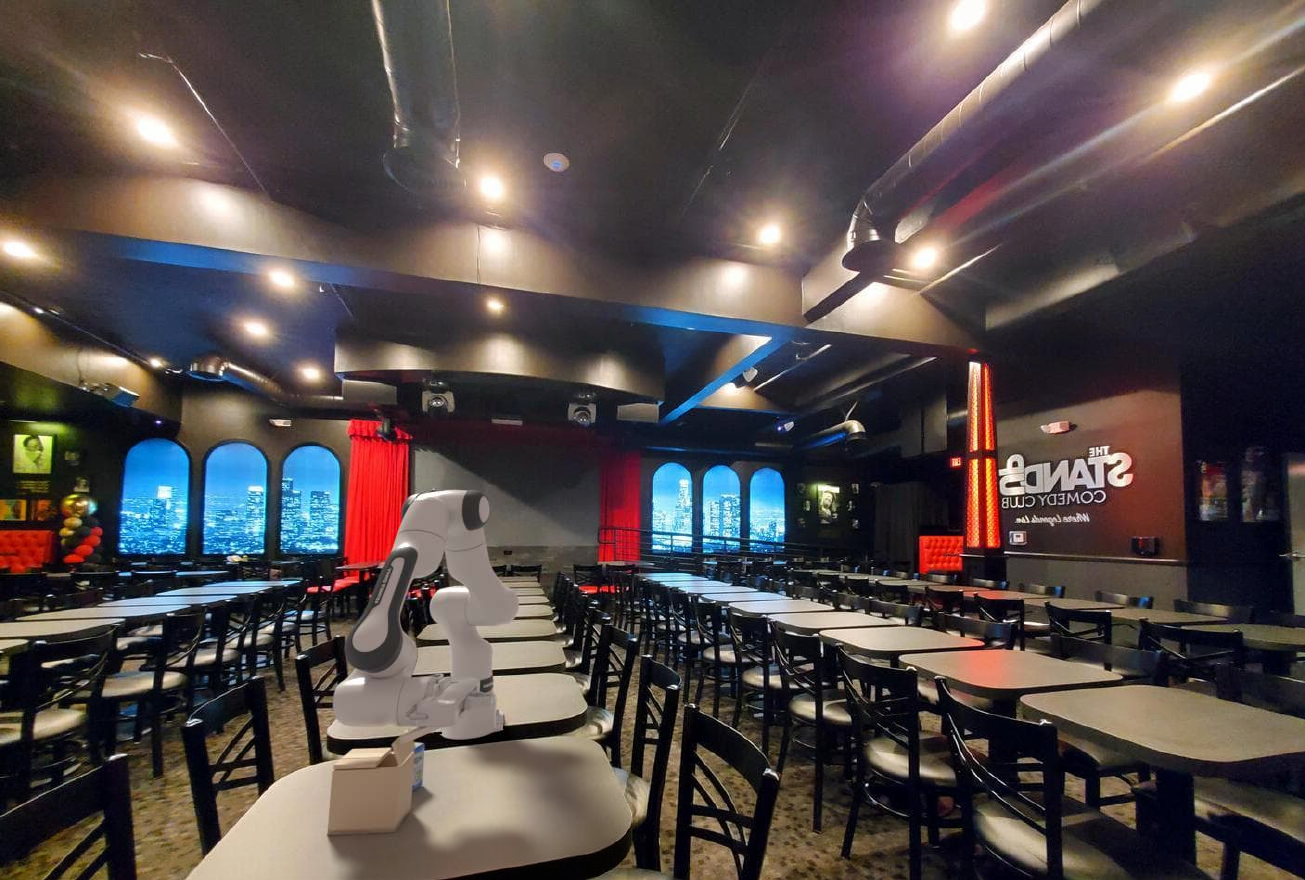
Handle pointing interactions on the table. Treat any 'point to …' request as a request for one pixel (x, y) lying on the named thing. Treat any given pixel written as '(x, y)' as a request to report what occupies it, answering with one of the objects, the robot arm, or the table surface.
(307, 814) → the table surface
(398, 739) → the flap
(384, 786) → the carton
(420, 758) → the medicine box
